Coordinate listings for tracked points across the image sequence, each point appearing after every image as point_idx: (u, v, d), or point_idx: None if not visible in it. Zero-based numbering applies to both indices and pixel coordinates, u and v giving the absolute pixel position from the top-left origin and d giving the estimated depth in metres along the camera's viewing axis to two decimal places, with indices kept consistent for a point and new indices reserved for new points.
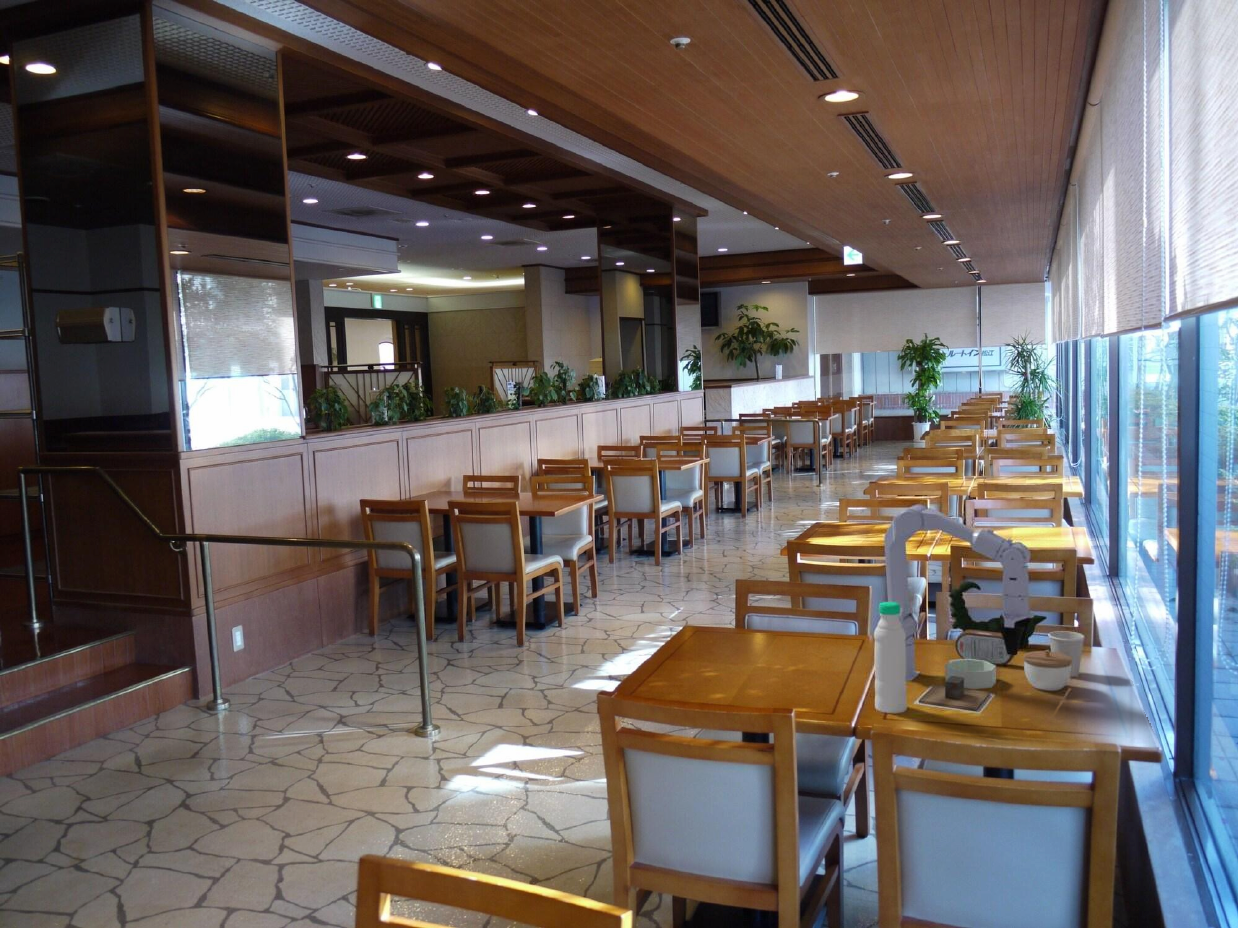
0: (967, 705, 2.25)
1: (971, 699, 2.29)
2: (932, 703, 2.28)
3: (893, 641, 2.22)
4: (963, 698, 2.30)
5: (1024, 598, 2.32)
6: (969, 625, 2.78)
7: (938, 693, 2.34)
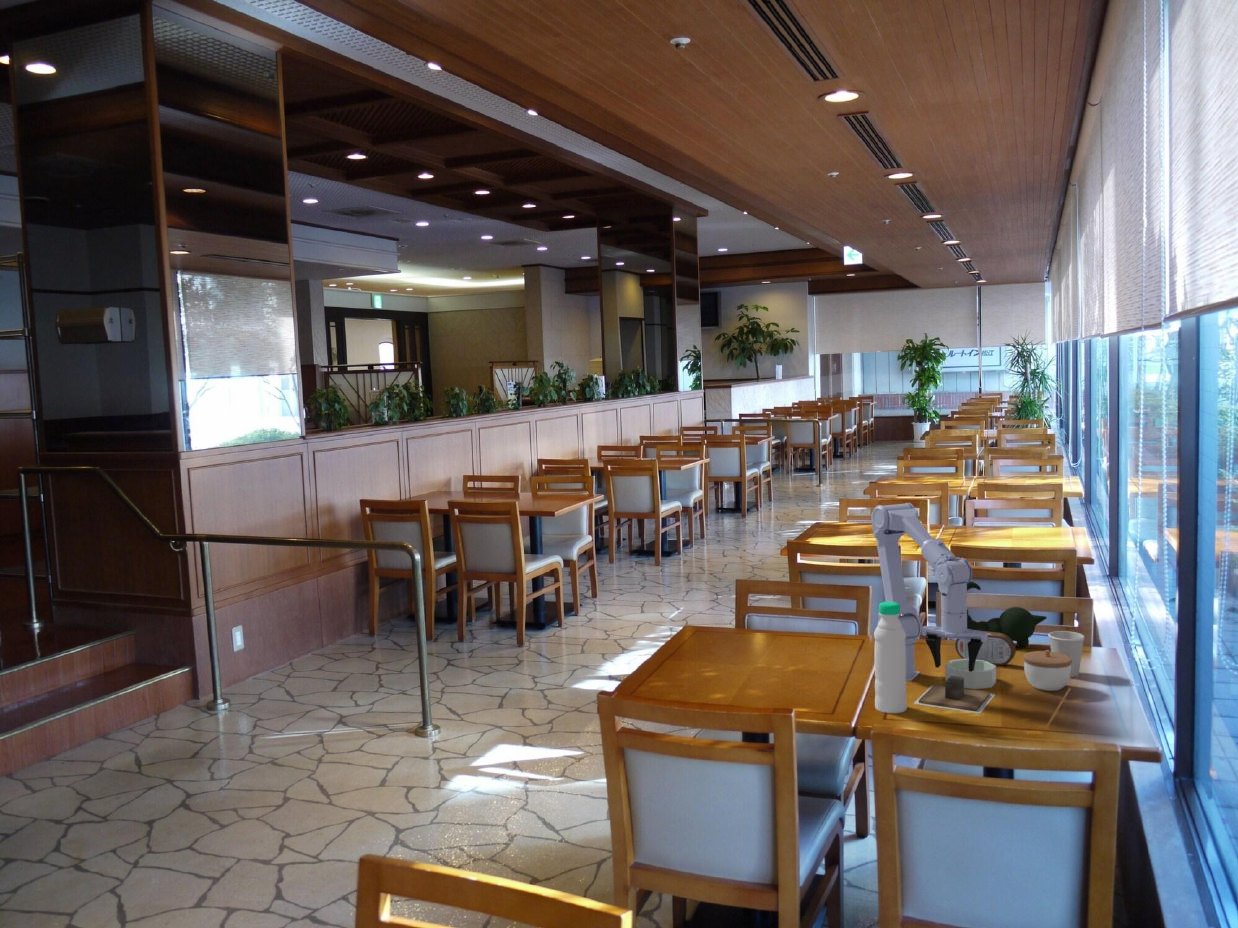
0: (967, 705, 2.25)
1: (971, 699, 2.29)
2: (932, 703, 2.28)
3: (893, 641, 2.22)
4: (963, 698, 2.30)
5: (944, 614, 2.29)
6: (969, 625, 2.78)
7: (938, 693, 2.34)
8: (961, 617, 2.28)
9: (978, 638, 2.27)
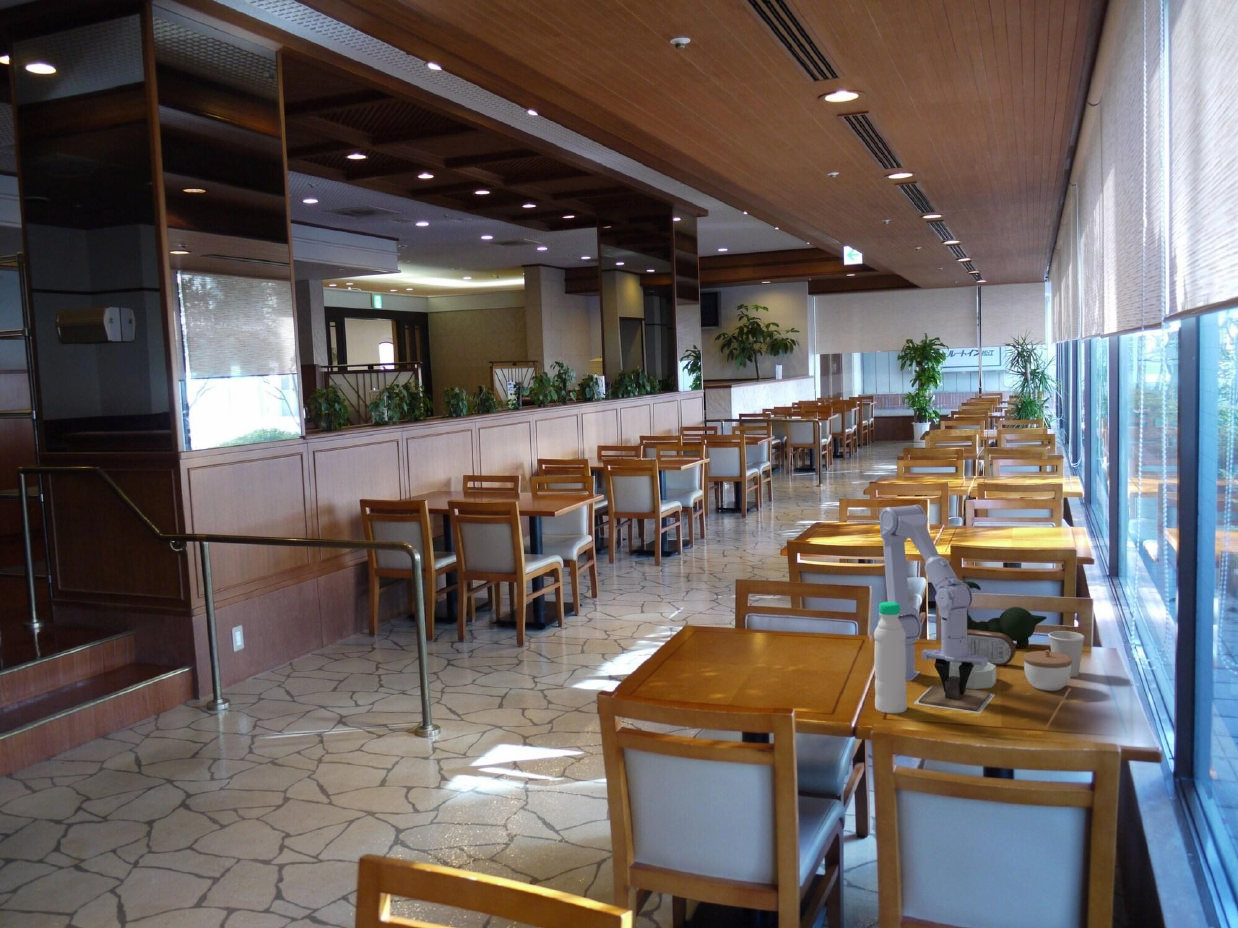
0: (967, 705, 2.25)
1: (971, 699, 2.29)
2: (932, 703, 2.28)
3: (893, 641, 2.22)
4: (963, 698, 2.30)
5: (944, 638, 2.30)
6: (969, 625, 2.78)
7: (938, 693, 2.34)
8: (961, 641, 2.28)
9: (978, 662, 2.28)
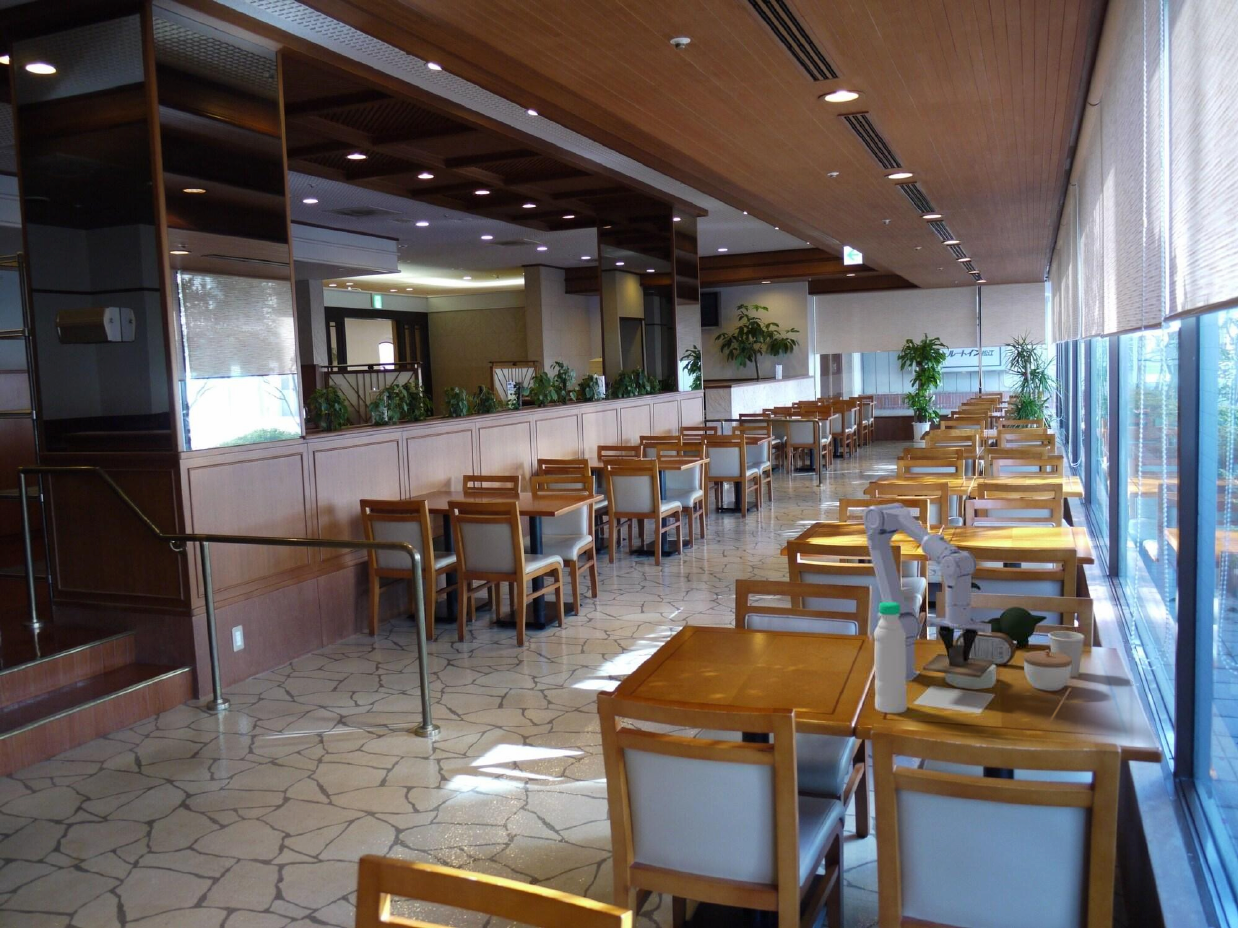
0: (971, 672, 2.28)
1: (975, 667, 2.31)
2: (936, 670, 2.31)
3: (893, 641, 2.22)
4: (966, 665, 2.33)
5: (948, 606, 2.32)
6: None
7: (942, 661, 2.37)
8: (965, 609, 2.31)
9: (982, 629, 2.31)
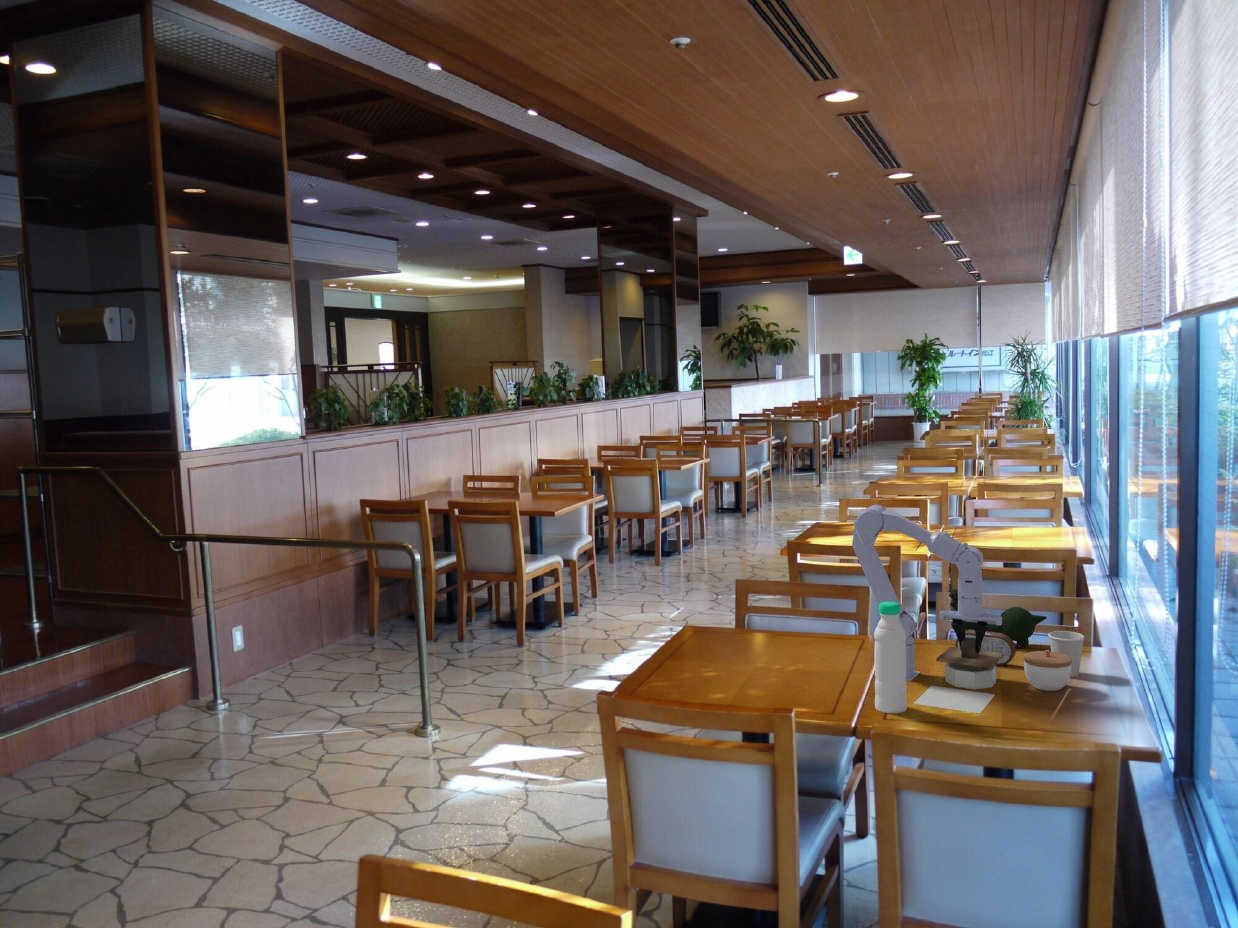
0: (982, 662, 2.37)
1: (986, 658, 2.40)
2: (949, 661, 2.40)
3: (893, 641, 2.22)
4: (978, 657, 2.42)
5: (961, 599, 2.42)
6: (969, 625, 2.78)
7: (954, 653, 2.46)
8: (977, 602, 2.40)
9: (993, 622, 2.40)
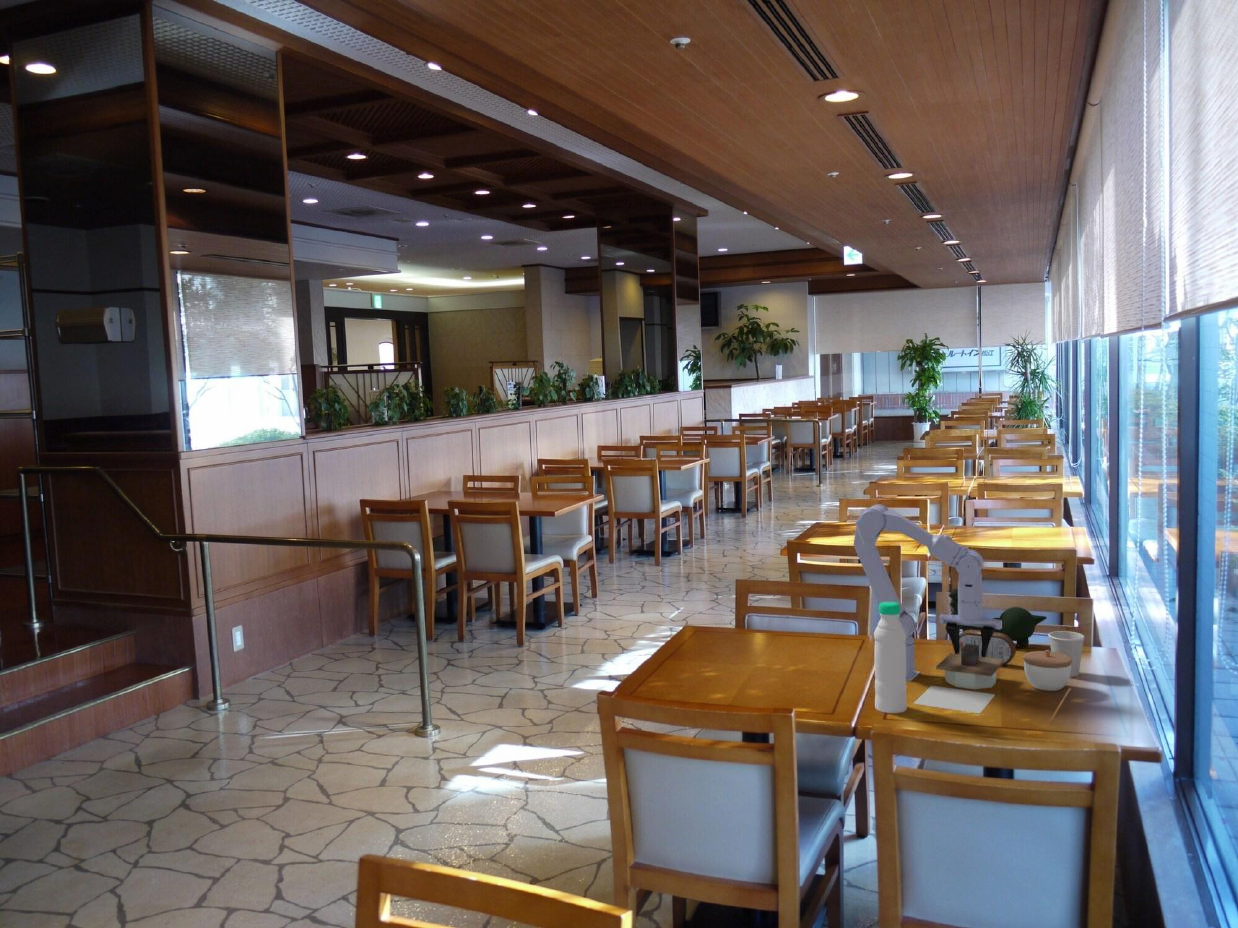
0: (982, 670, 2.37)
1: (986, 666, 2.40)
2: (949, 669, 2.40)
3: (893, 641, 2.22)
4: (978, 664, 2.42)
5: (961, 603, 2.42)
6: None
7: (954, 660, 2.46)
8: (977, 606, 2.40)
9: (993, 626, 2.40)
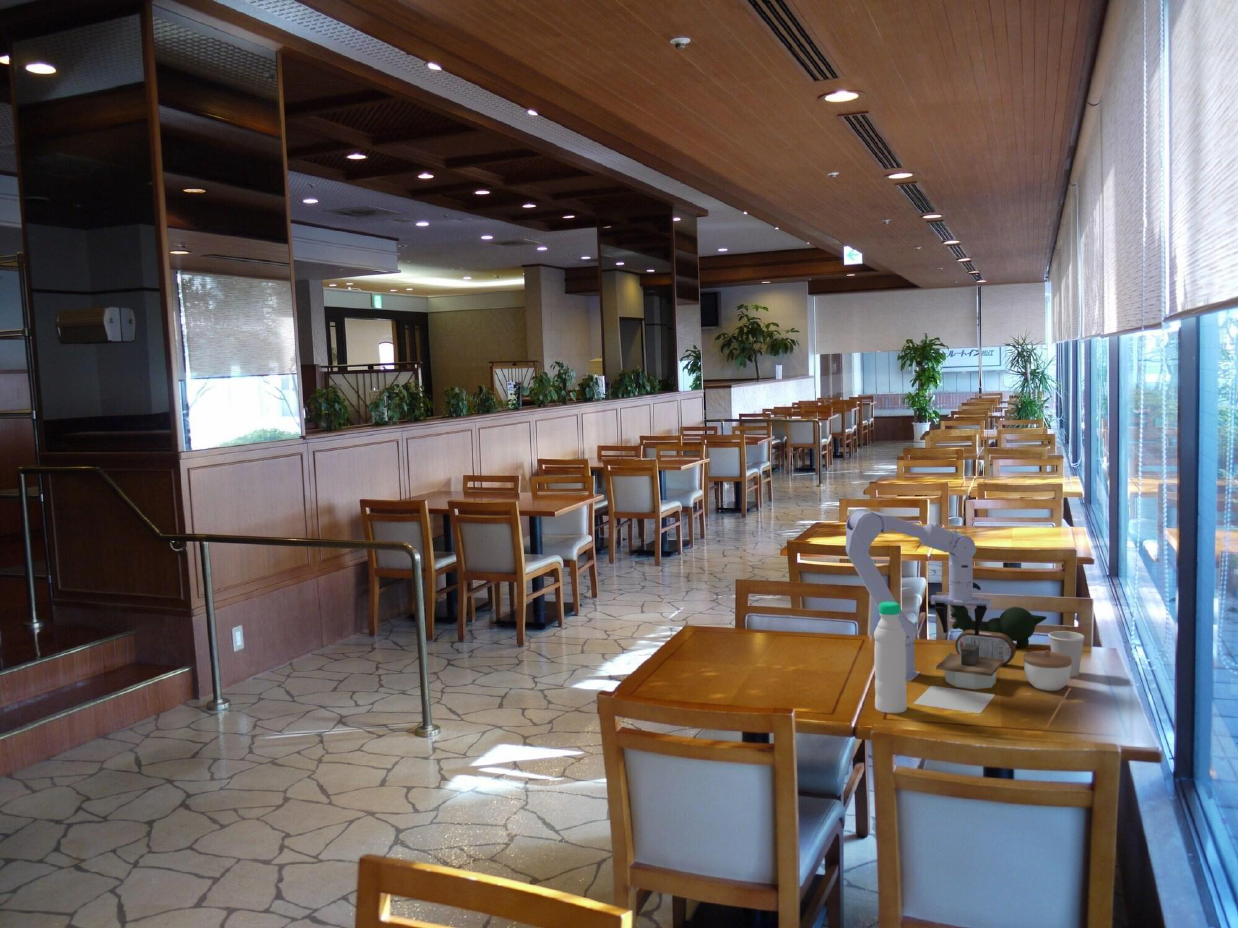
0: (982, 670, 2.37)
1: (986, 666, 2.40)
2: (949, 669, 2.40)
3: (893, 641, 2.22)
4: (978, 664, 2.42)
5: (952, 584, 2.49)
6: (969, 625, 2.78)
7: (954, 660, 2.46)
8: (968, 586, 2.48)
9: (983, 605, 2.48)
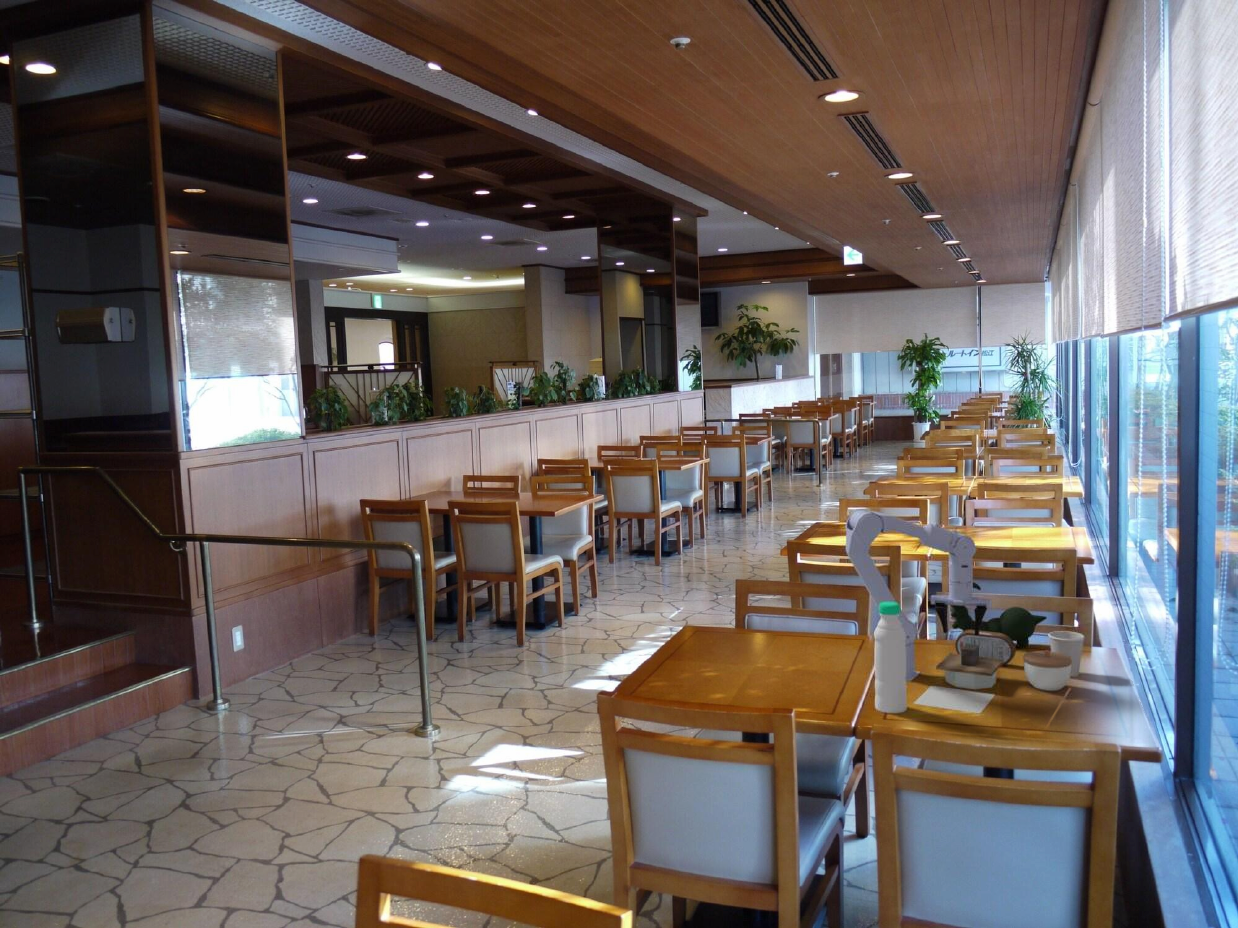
0: (982, 670, 2.37)
1: (986, 666, 2.40)
2: (949, 669, 2.40)
3: (893, 641, 2.22)
4: (978, 664, 2.42)
5: (952, 584, 2.49)
6: (969, 625, 2.78)
7: (954, 660, 2.46)
8: (968, 586, 2.48)
9: (983, 605, 2.48)
